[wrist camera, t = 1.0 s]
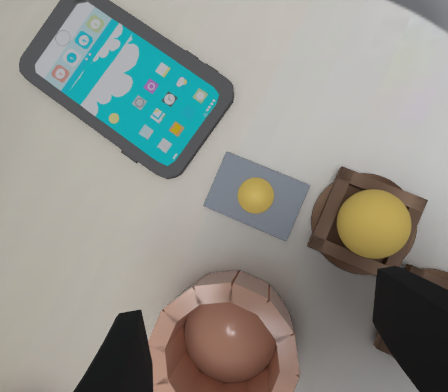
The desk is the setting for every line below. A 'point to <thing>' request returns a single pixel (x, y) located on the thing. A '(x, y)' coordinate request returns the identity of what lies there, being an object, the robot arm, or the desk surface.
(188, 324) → the pink faceted bowl
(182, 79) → the smartphone
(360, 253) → the mustard ball
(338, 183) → the round-based square frame stand
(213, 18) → the desk surface
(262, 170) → the card
